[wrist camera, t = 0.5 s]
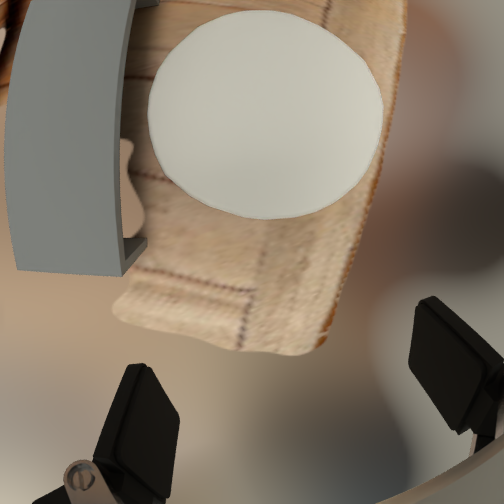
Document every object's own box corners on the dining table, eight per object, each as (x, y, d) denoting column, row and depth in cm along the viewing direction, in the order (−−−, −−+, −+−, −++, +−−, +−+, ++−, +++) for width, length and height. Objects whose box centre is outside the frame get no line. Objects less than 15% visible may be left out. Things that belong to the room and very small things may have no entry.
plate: (130, 208, 31) (164, 1, 22) (150, 200, 37) (178, 21, 28) (371, 243, 31) (397, 32, 22) (355, 229, 37) (379, 48, 28)
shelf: (64, 22, 24) (30, 1, 15) (159, -2, 25) (141, -37, 16) (55, 245, 36) (17, 270, 26) (147, 246, 37) (121, 276, 27)
